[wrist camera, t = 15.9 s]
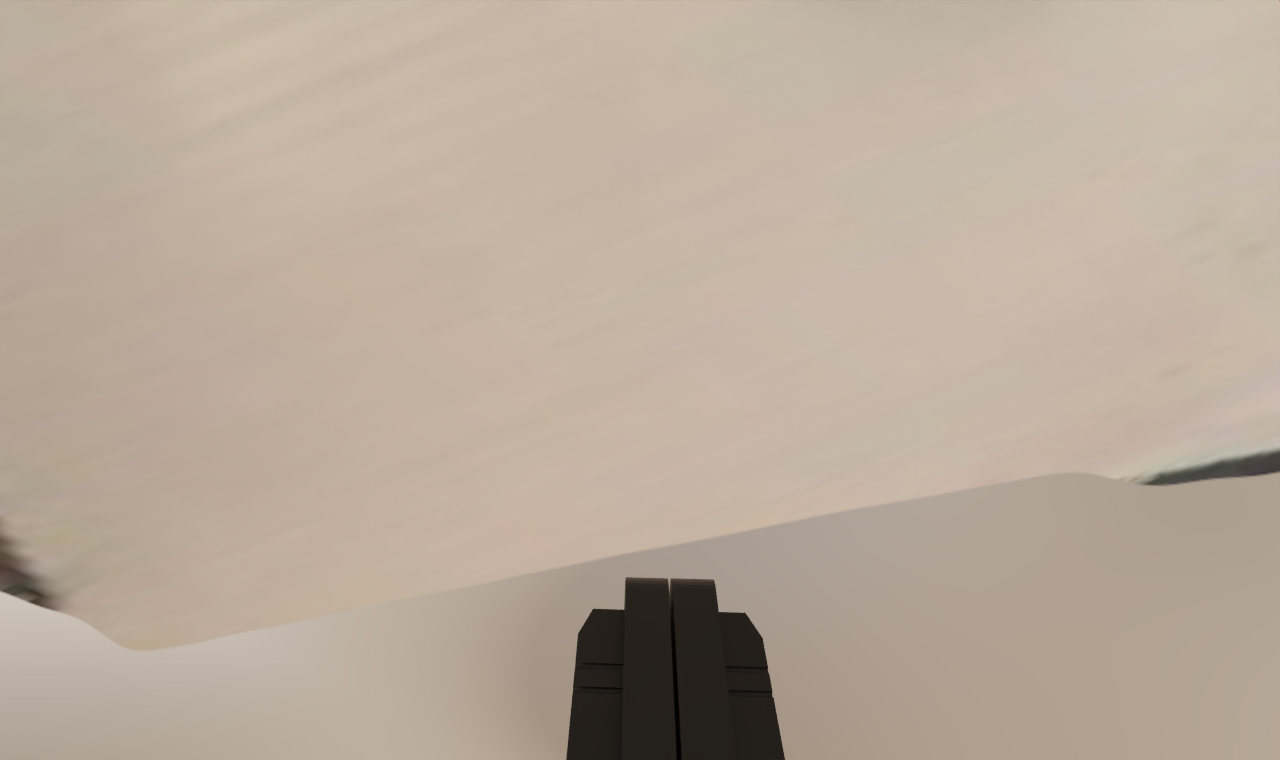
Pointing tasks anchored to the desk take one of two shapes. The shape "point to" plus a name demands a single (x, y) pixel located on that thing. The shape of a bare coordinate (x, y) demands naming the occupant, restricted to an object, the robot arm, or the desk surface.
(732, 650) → the robot arm
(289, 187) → the desk surface
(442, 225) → the desk surface
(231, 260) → the desk surface
